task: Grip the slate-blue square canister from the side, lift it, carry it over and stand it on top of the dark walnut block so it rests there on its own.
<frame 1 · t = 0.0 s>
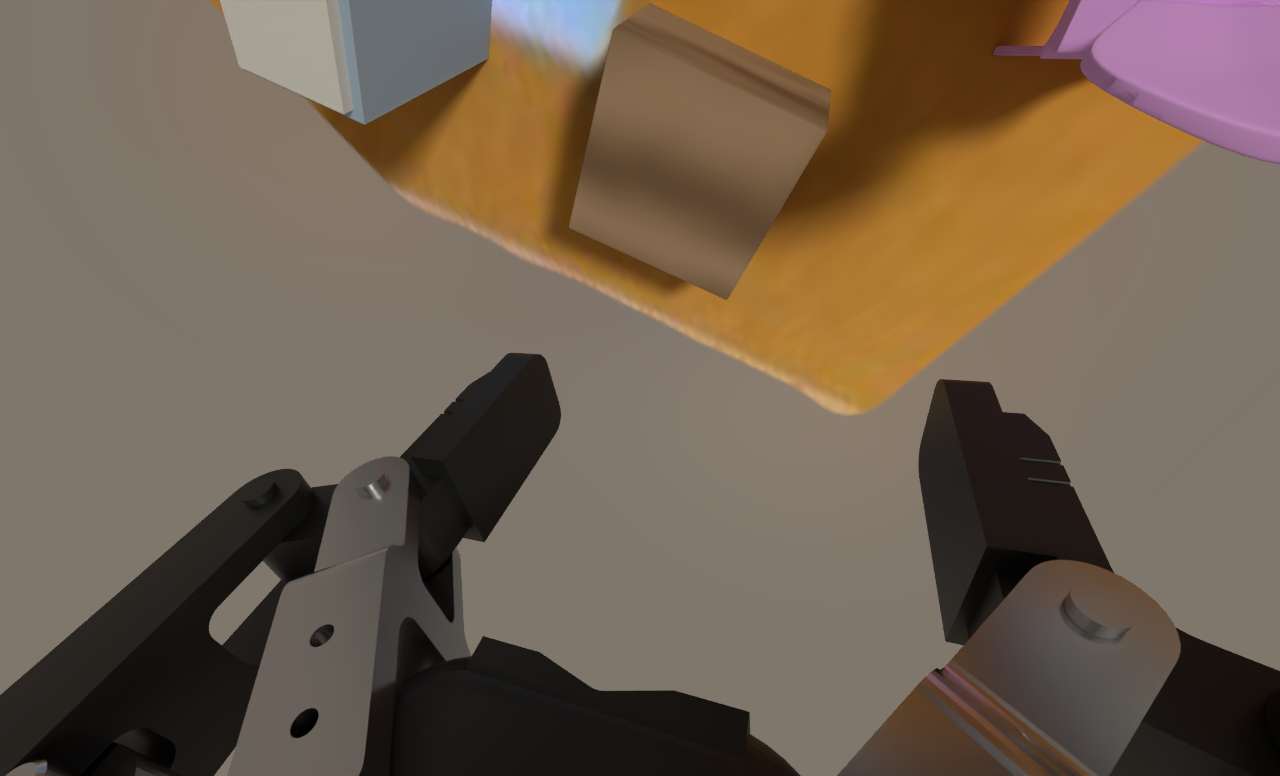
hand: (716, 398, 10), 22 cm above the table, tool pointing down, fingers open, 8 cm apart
walnut block: (703, 141, 29), on the table
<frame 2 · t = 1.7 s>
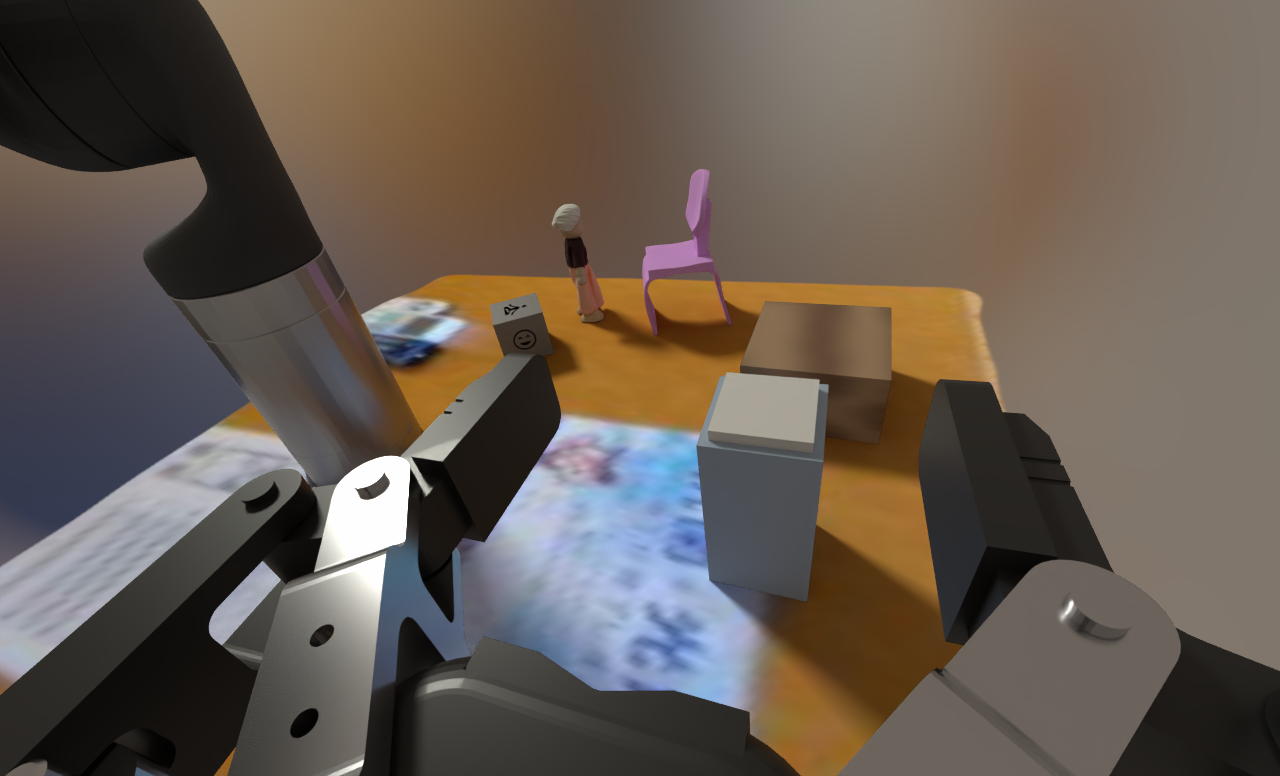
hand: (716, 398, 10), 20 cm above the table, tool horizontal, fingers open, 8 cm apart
toy chair: (687, 318, 55), on the table
dice cube: (529, 350, 54), on the table
walnut block: (813, 396, 42), on the table
grandmother figurine: (590, 313, 59), on the table
slate-blue canister: (763, 550, 30), on the table
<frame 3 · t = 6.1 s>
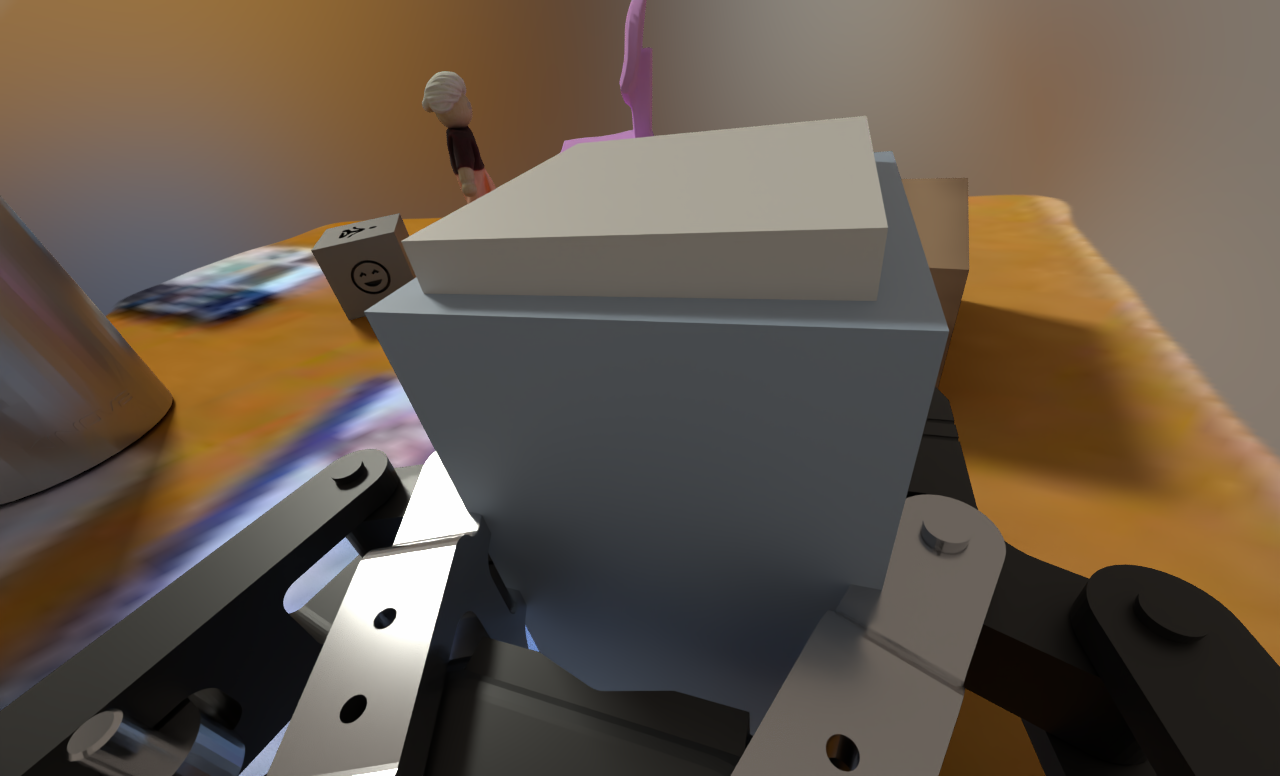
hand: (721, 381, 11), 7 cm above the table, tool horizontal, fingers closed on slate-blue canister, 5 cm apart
toy chair: (630, 248, 38), on the table
dice cube: (391, 300, 36), on the table
walnut block: (818, 336, 24), on the table
grandmother figurine: (497, 250, 42), on the table
slate-blue canister: (715, 641, 13), on the table, touching gripper
when the fingers open (13 cm above the table, at t = 11.9 s): slate-blue canister drops 1 cm, resting on walnut block.
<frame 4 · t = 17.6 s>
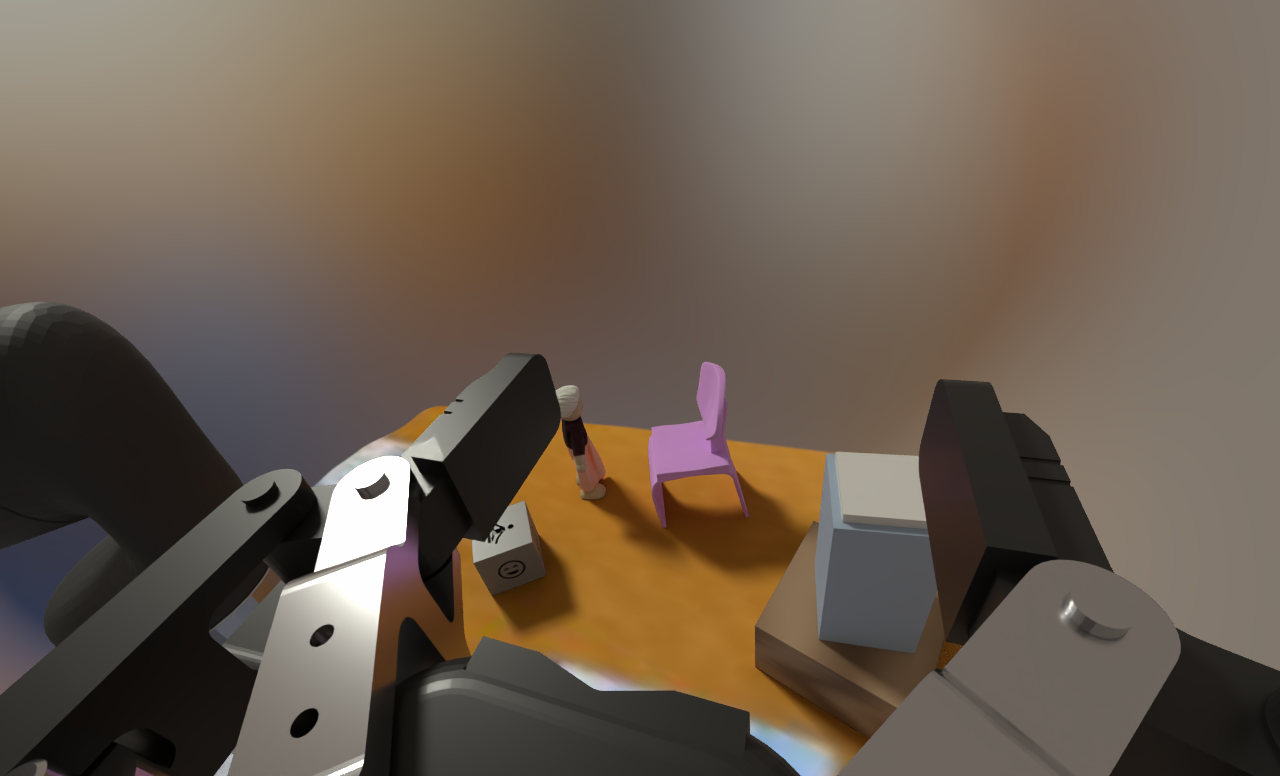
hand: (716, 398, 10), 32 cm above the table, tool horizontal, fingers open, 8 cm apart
toy chair: (698, 499, 50), on the table
dice cube: (517, 565, 47), on the table
walnut block: (848, 648, 36), on the table, touching slate-blue canister
grandmother figurine: (590, 483, 54), on the table
slate-blue canister: (860, 605, 33), point 6 cm above the table, touching walnut block
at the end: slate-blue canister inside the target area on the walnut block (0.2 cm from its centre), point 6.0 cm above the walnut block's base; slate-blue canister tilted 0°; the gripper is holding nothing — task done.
